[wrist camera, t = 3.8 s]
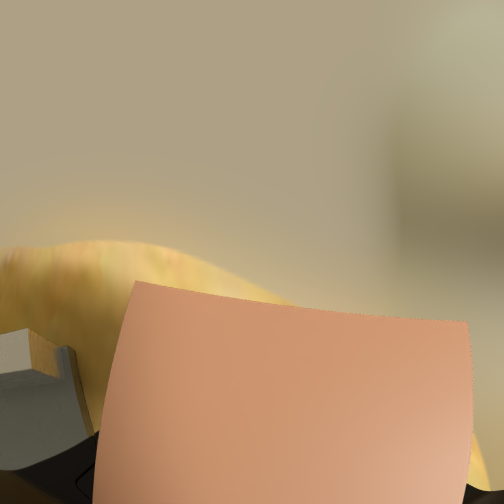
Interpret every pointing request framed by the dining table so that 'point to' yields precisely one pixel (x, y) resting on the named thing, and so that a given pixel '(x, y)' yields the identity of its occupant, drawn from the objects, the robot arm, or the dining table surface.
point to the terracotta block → (282, 405)
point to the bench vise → (38, 400)
